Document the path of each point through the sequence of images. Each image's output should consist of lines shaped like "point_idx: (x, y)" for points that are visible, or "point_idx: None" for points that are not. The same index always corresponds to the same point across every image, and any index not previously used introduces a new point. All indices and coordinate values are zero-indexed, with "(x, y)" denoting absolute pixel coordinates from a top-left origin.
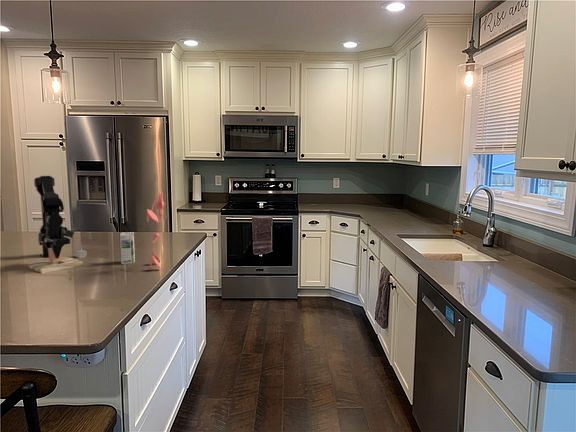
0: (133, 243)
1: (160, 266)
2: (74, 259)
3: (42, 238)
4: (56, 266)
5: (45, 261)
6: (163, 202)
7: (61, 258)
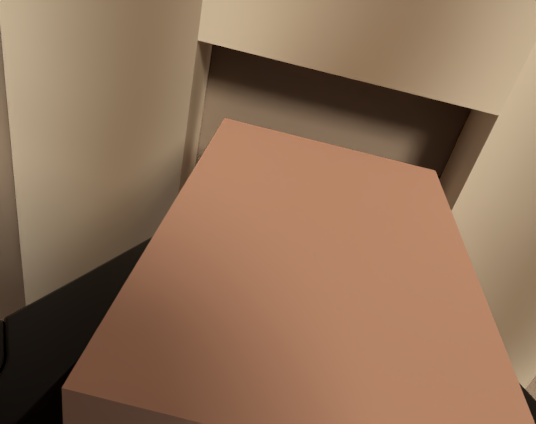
0: None
1: None
2: None
3: None
4: (529, 352)
5: (42, 205)
6: None
7: (441, 209)
